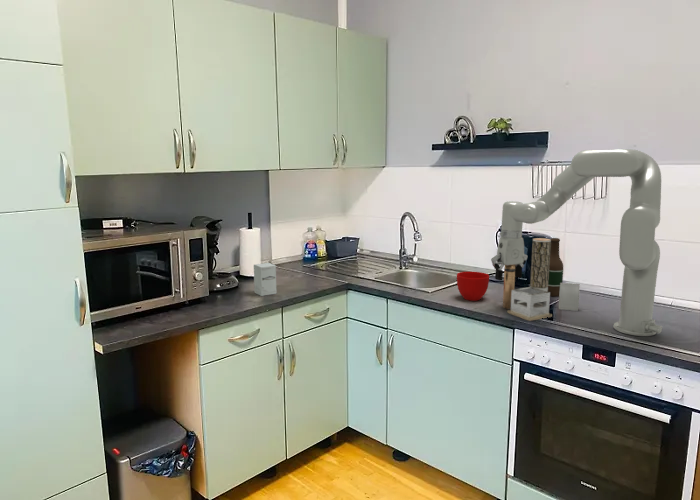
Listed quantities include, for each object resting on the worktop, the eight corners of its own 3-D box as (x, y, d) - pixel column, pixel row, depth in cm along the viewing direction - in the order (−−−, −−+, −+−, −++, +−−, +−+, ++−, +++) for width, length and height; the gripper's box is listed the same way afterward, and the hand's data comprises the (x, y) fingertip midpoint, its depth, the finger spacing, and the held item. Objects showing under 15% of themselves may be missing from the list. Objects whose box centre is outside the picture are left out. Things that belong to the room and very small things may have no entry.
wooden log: (535, 303, 206) (539, 241, 202) (525, 298, 213) (529, 238, 208) (550, 301, 208) (554, 240, 204) (540, 297, 214) (543, 237, 210)
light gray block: (578, 311, 196) (580, 285, 194) (558, 309, 198) (560, 283, 196) (577, 308, 199) (579, 283, 197) (558, 306, 201) (560, 281, 199)
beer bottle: (565, 295, 218) (569, 238, 213) (553, 297, 214) (556, 240, 210) (550, 291, 224) (553, 236, 220) (537, 293, 220) (541, 237, 216)
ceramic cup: (500, 297, 215) (501, 273, 214) (475, 304, 204) (476, 280, 203) (474, 291, 225) (474, 268, 223) (449, 298, 214) (450, 274, 212)
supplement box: (261, 296, 218) (260, 267, 216) (254, 292, 224) (253, 264, 222) (277, 294, 222) (276, 265, 220) (269, 290, 228) (268, 262, 226)
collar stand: (551, 316, 188) (553, 292, 187) (529, 321, 184) (530, 296, 182) (529, 309, 198) (530, 286, 197) (507, 312, 193) (508, 289, 192)
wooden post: (515, 308, 200) (518, 262, 197) (507, 309, 198) (510, 263, 195) (508, 305, 203) (510, 260, 200) (500, 306, 201) (502, 261, 198)
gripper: (500, 237, 189) (497, 283, 192) (535, 234, 196) (532, 278, 199) (486, 234, 195) (484, 278, 198) (521, 231, 203) (518, 274, 206)
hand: (508, 278), depth 199 cm, fingers open, 9 cm apart
